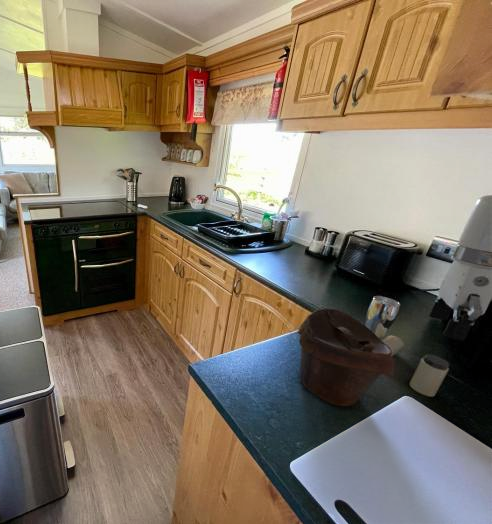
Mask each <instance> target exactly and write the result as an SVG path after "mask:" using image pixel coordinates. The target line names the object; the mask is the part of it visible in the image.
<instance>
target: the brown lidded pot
mask: <svg viewBox="0 0 492 524" xmlns="http://www.w3.org/2000/svg"><path fill="white" fill-rule="evenodd" d="M297 334H298V335H299V339H298V343H299V345H300V349H301V350H300V351H301V353H300V354H301V355H300V373H299V374H300V375H299V377H300V380H301V383H302V385H303V386H304V388H305V389H307V390H308V391H309V392H311V393H312V394H313V395H314V396H317V397H318V398H320V400H323V401H325V402H327V403H330V404H332V405H336V406H340V407H349V406H353V405H354V404H356V403H357V402H358V401H359V400H360V398H361V397H362V396H363V395H364V394H365V392H367V391H368V390H369V388H370V387H371V386H372V385H373V384H374V383H375V382H376V381H377V379H378V378H379V377H380V376H381V375H382V376H385V377H389V378H391V379H392V380H393V379H394V371H395V366H396V361H395V358H394V357H393V356H392V352H391V350H390V349H389V348H388V347H387V346H386V344H385V343H384V342H383V341H382V340H380V339H379V338H378V337H377V336H376V335H375V334H374V333H373V332H372V331H371V330H370V329H369V328H367V327H366V326H365V323H362V322H361V321H360V320H358V319H357V318H354V317H353V316H351V315H350V314H348V313H346V312H344V311H341V310H339V309H335V308H329V307H325V308H320V309H319V308H318V309H316V310H315V311H313V312H311V313H310V314H308V315H307V317H306V318H305V319H304V320H303V322H302V323H301V324H300V326H299V328H298V330H297Z"/></svg>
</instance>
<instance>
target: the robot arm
mask: <svg viewBox="0 0 492 524" xmlns="http://www.w3.org/2000/svg"><path fill="white" fill-rule="evenodd" d="M450 260H452V263H451V265H450V266H449V268H448V270H447V272H446V274H445V275H444V278H443V280H442V282H441V284H440V287H439V289H438V295H437V296H436V297H435V301H434V303H433V306H432V308H431V310H430V311H429V314H428V316H429V317H430V318H433V319H437V320H440V321H448V320H449V321H448V323H447V325H446V327H445V329H444V331H443V333H442V335H443V337H445V338H448V339H453V340H457V341H460V342H463V341H465V340H466V338H467V336H468V333H469V332H470V330H471V328H472V327H473V326H475V323H476V322H477V321H478V318H479V317H481V316H483V315H484V314H485V313H486V311H487V309H488V307H489V305H490V302H491V301H492V194H490V195H483V196H481V197H480V198H478V199H477V200H476V202H475V203H474V205H473V208H472V210H471V212H470V214H469V216H468V219H467V221H466V222H465V226H464V228H463V230H462V232H461V234H460V237H459V239H458V242H457V244H456V245H455V248H454V250H453V252H452V254H451V257H450ZM452 312H453V315H452V316H453V317H452V318H450V319H449V317H450V315H451V313H452ZM461 313H463V314H461Z"/></svg>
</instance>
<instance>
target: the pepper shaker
mask: <svg viewBox="0 0 492 524" xmlns="http://www.w3.org/2000/svg"><path fill="white" fill-rule="evenodd" d="M449 367H450V363H449V362H448V360H446V359H444V358H443V357H440V356H437V355H435V354H430V353H426V354H425V355H424V356H423V357H422V358H420V361H419V363H418V365H417V367H416V369H415V371H414V373H413V375H412V377H411V379H410V381H409V386H410V388H411V389H412V390H414V391H415V392H417V393H419V394H420V395H423V396H425V397H426V396H427V397H431V398H433V397H435V396H436V395H437V393H438V391H439V389H440V387H441V385H442V384H443V382H444V379H445V378H446V376H447V375H448V372H449V369H450V368H449Z"/></svg>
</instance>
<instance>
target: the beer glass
mask: <svg viewBox="0 0 492 524" xmlns="http://www.w3.org/2000/svg"><path fill="white" fill-rule="evenodd" d="M400 307H401V303H400V302H399V301H397V300H395V299H393V298H390V297H386V296H381V295H375V296H373V298H372V299H371V301H370V303H369V306H368V308H367V311H366V314H365V315H366V316H365V323H364V325H365V326H366V327H367V328H369V329H370V330H371V331H372V332H373V333H374V334H375V335H376V336H377V337H378V338H379V339H380V340H381V339H383V338H385V337H386V334H387V333H388V332H389V330H390V329H391V327H392V326H393V324H394V323H395V321H396V319H397V316H398V314H399V311H400Z"/></svg>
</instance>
